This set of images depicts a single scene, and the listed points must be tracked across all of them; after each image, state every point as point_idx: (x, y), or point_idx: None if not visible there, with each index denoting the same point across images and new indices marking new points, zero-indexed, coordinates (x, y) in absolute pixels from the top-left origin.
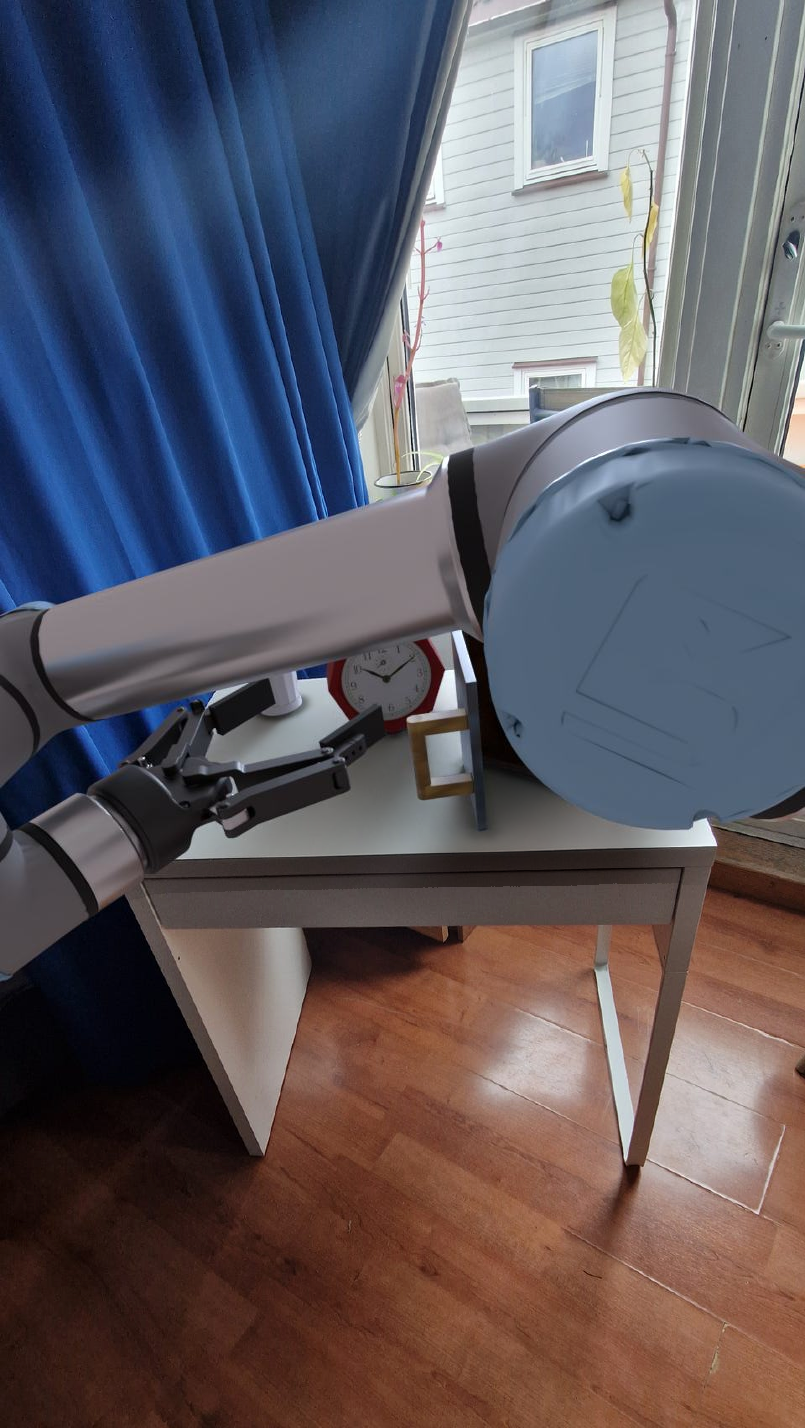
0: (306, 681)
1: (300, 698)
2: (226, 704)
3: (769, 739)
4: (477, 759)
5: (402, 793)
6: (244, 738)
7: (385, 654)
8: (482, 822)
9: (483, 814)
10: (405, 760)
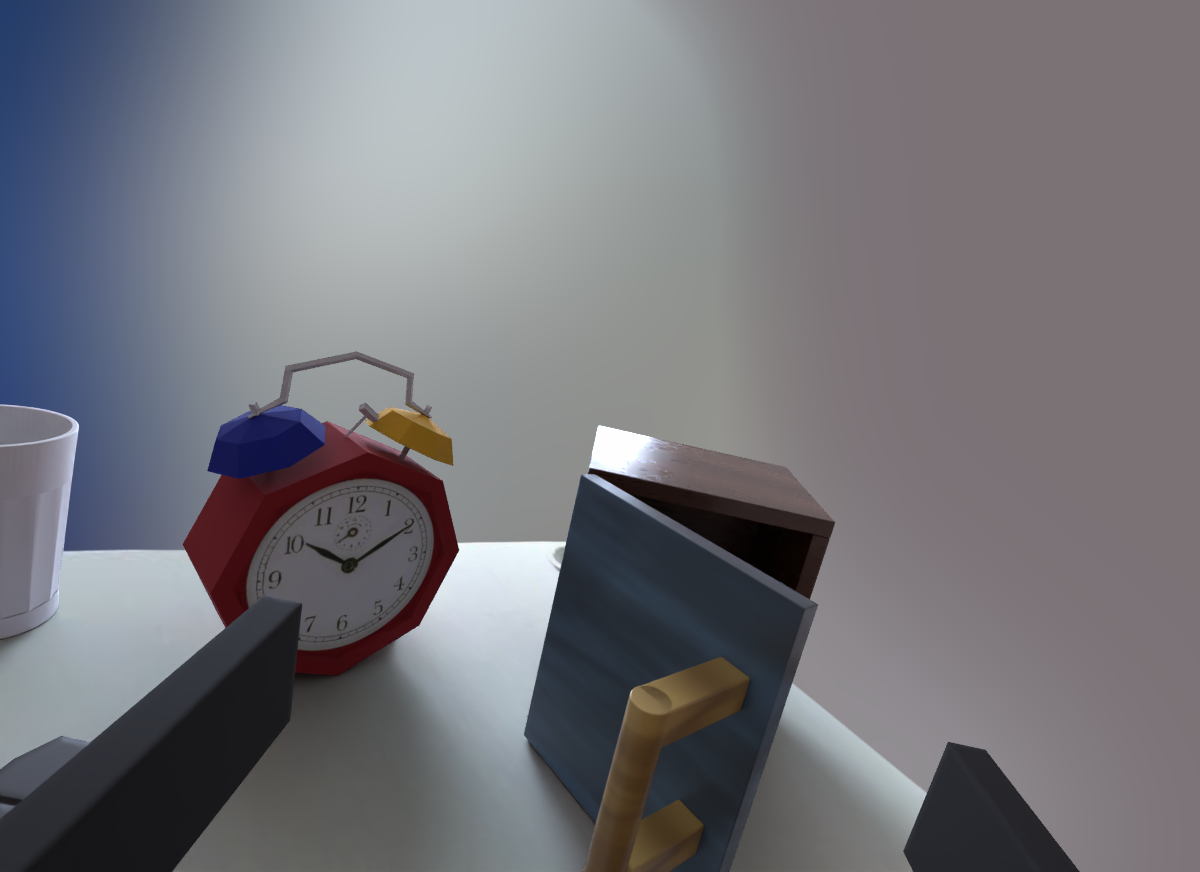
0: (64, 554)
1: (58, 596)
2: (73, 849)
3: None
4: (754, 780)
5: (441, 856)
6: None
7: (361, 516)
8: None
9: None
10: (396, 747)
